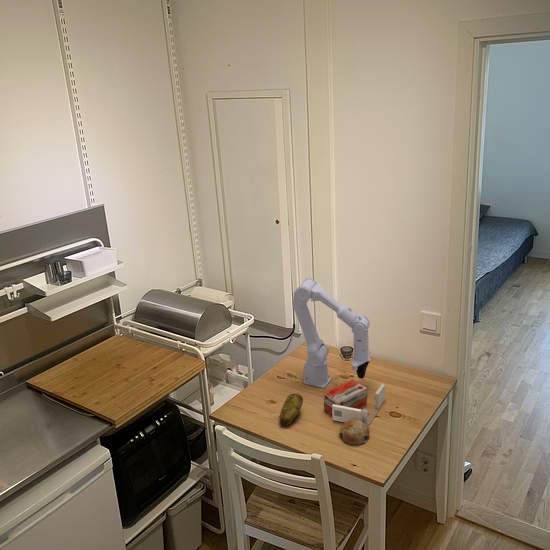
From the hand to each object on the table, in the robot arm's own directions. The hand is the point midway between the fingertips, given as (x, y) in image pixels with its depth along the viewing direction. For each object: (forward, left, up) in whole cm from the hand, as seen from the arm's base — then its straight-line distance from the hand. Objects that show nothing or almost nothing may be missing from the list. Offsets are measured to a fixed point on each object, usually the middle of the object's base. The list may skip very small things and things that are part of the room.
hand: (361, 377), depth 231 cm
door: (+4, -24, -4) cm, 25 cm away
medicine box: (0, -15, -5) cm, 16 cm away
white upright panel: (+10, -14, -5) cm, 18 cm away
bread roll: (+9, -30, -5) cm, 32 cm away
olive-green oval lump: (-16, -30, -5) cm, 34 cm away
